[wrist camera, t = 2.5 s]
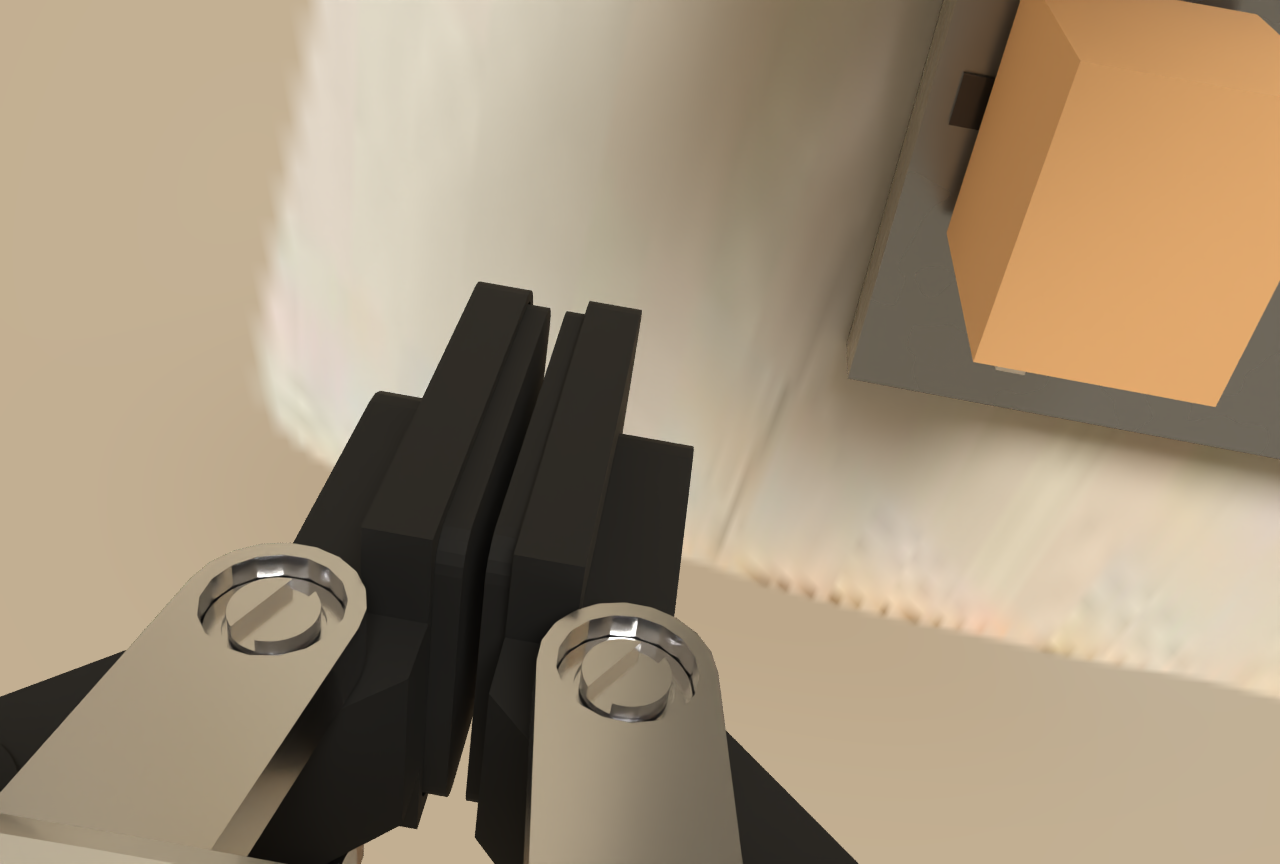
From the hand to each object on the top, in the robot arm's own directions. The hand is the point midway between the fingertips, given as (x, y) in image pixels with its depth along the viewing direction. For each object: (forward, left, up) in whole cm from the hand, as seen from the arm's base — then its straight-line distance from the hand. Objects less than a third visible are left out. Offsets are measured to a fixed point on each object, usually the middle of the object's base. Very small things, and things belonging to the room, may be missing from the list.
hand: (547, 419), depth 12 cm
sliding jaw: (-8, +1, -12) cm, 15 cm away
